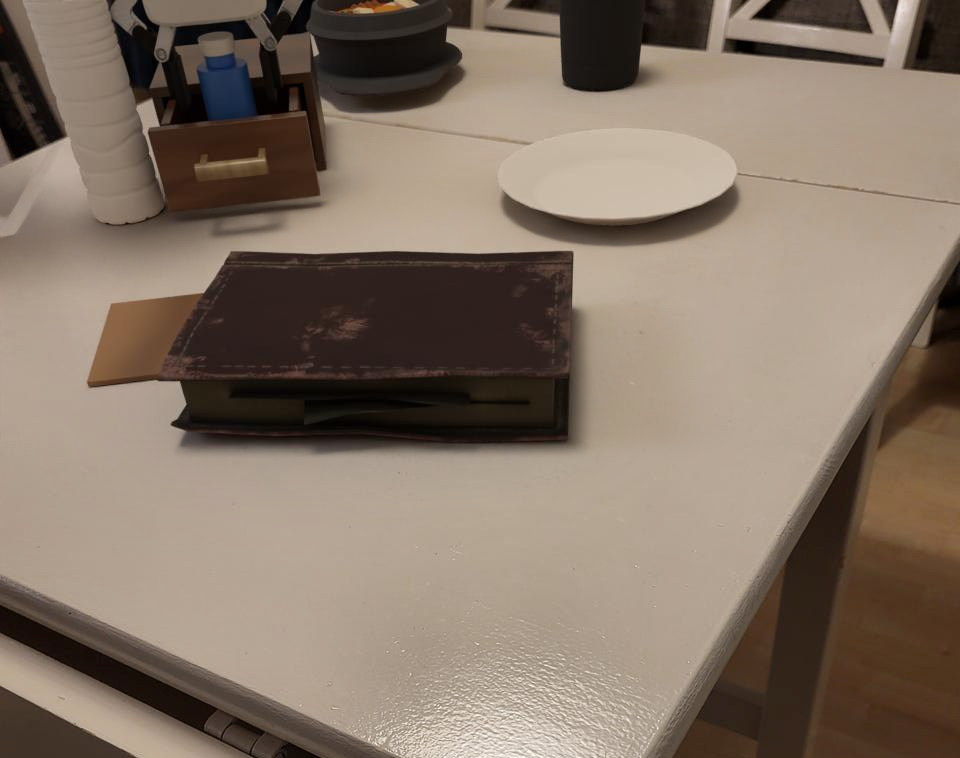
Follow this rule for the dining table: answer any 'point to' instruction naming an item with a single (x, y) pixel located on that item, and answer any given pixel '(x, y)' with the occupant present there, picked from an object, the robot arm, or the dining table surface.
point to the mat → (138, 338)
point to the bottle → (224, 79)
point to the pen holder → (600, 42)
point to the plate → (617, 175)
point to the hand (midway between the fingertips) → (229, 100)
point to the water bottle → (97, 107)
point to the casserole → (381, 45)
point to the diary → (380, 346)
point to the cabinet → (260, 80)
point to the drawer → (235, 153)
